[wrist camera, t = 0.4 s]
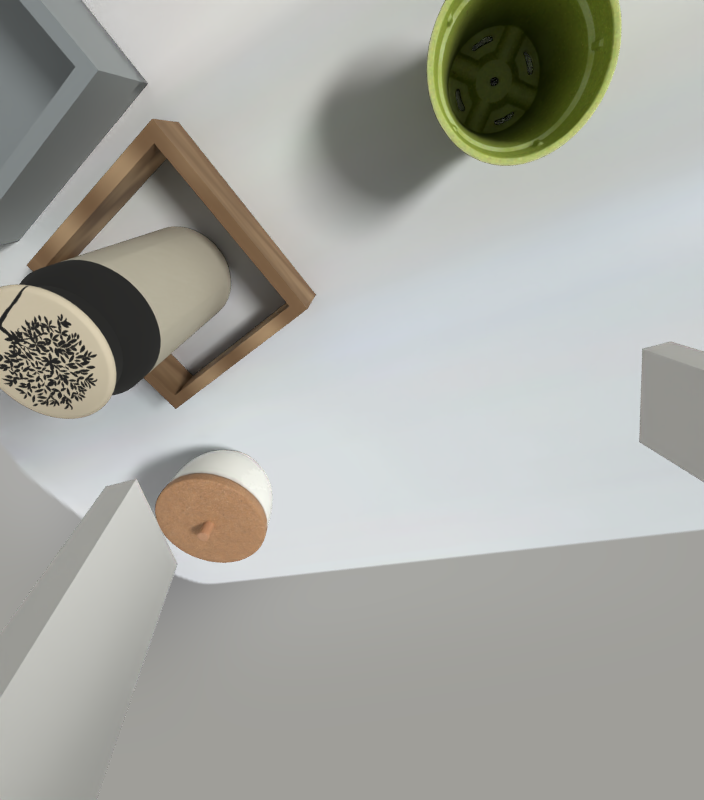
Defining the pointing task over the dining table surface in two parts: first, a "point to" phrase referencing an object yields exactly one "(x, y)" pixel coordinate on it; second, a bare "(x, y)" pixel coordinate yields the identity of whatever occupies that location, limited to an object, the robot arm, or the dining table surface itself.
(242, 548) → the lidded jar
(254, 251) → the walnut frame
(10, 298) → the travel mug
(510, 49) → the plant pot
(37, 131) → the slate bin
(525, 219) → the dining table surface
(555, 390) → the dining table surface
